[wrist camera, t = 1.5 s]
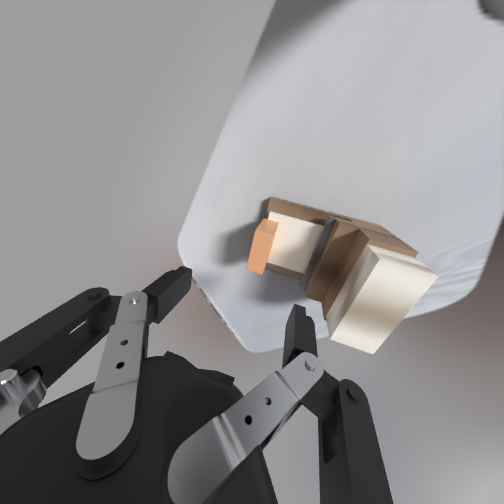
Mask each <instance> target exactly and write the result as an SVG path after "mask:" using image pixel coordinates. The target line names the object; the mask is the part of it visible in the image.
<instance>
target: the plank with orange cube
mask: <svg viewBox="0 0 504 504" xmlns="http://www.w3.org/2000/svg"><path fill="white" fill-rule="evenodd" d="M323 227H324V226H323V225H319V224H315V223H312V222H308V221H305V220H301V219H297V218H294V217H290V216H287V215H283V214H279V213H276V212H272V211H270V213H269V217H268V219H265V218H264V219H263V220H262V222H261V223H260V224H259V226H258V227H257V228H256V230H255V234H254V238H253V242H252V246H251V251H250V255H249V259H248V263H247V267H246V270H249V271H253V272H256V273H259V274H262V275H263V272H264V269H265V266H266V264H267V262H268V263H271V264H274V265H277V266H281V267H284V268H287V269H290V270H293V271H297V272H300V273H303V274H304V272H305V270H306V268H307V265H308V263H309V260H310V258H311V256H312V253H313V251H314V248H315V246H316V244H317V241H318V239H319V237H320V234H321V232H322V229H323Z"/></svg>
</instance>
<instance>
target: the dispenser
mask: <svg viewBox="0 0 504 504" xmlns="http://www.w3.org/2000/svg"><path fill="white" fill-rule="evenodd" d="M270 211H272V212H276V213H279V214H283V215H287V216H290V217H294V218H297V219H301V220H305V221H308V222H312V223H315V224H319V225H323V226H324V227H323V229H322V232H321V234H320V237H319V239H318V241H317V244H316V246H315V248H314V251H313V253H312V256H311V258H310V260H309V263H308V265H307V268H306V270H305V272H304V274H303V273H300V272H297V271H293V270H290V269H287V268H284V267H281V266H277V265H274V264H271V263H268V262H267V264H266V266H265V268H266V269H269V270H273V271H276V272H279V273H282V274H285V275H288V276H291V277H295V278H298V279H301V282H300V288H303V289H305V290H306V297H307V298H310V299H313V300H316V301H319V302H321V303H322V309H323V315H324V320H326V321H327V326H328V331H329V337H330V339H331V340H334V341H337V342H339V343H342V344H345V345H348V346H351V347H353V348H357V349H359V350H362V351H365V352H368V353H371V354H374V353H375V351H376V350H377V349H378V348H379V347H380V345H381V344H382V343H383V342H384V341H385V339H386V338H387V337H388V336H389V335H390V333H391V332H392V331H393V330H394V329H395V327H396V326H397V325H398V324H399V323H400V322H401V320H402V319H403V318H404V317H405V316H406V314H407V313H408V312H409V311H410V310H411V308H412V307H413V306H414V305H415V304H416V302H417V301H418V300H419V299H420V298H421V296H422V295H423V294H424V293H425V292H426V291H427V289H428V288H429V287H430V286H431V285H432V283H433V282H434V281H435V280H436V279H437V277H438V275H437V274H435V273H434V272H433V271H432V270H430V269H429V268H428V267H426V266H425V265H424V264H423V263H421V262H420V261H419V260H417V259H416V258H415V257H416V255H417V254H418V253H419V252H417V251H416V250H414V249H413V248H412V247H410V246H409V245H407V244H406V243H404V242H403V241H402V240H400V239H399V238H397V237H396V236H395V235H393V234H392V233H390V232H389V231H387V230H386V229H385V228H383V227H382V226H379V225H375V224H372V223H368V222H364V221H360V220H357V219H353V218H349V217H345V216H342V215H338V214H334V213H331V212H327V211H323V210H319V209H316V208H312V207H308V206H304V205H301V204H297V203H293V202H289V201H286V200H282V199H278V198H274V197H270V200H269V204H268V208H267V212H266V215H265V219H268V217H269V213H270Z"/></svg>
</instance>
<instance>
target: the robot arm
mask: <svg viewBox="0 0 504 504" xmlns="http://www.w3.org/2000/svg"><path fill="white" fill-rule="evenodd" d="M191 279H192V269H190V268H187V267H184V266H181V267H179V268H178V269H177V270H176V271H175V270H171V271H169V272H166V273H165V274H163V275H162V276H161V277H160V278H158V279H157V280H155V281H154V282H153V283H152V284H150V285H149V286H148V287H146V288H145V289H144V290H142V291H141V292H140V291H135V292H130V293H128V294H126V295H124V296H111V295H109V291H108V290H107V289H106V288H101V287H99V288H91V289H88V290H86V291H84V292H82V293H81V294H79V295H77V296H76V297H74V298H72V299H71V300H69V301H68V302H66V303H64V304H63V305H61V306H59V307H58V308H56V309H54V310H52V311H51V312H49V313H47V314H46V315H44V316H42V317H41V318H39V319H38V320H36V321H35V322H33V323H31V324H29V325H28V326H26V327H24V328H23V329H21V330H19V331H18V332H16V333H14V334H13V335H11V336H9V337H8V338H6V339H4V340H3V341H1V342H0V504H278V501H277V498H276V495H275V492H274V488H273V485H272V482H271V478H270V475H269V472H268V468H267V465H266V462H265V459H264V455H263V452H262V451H263V450H264V449H265V448H266V447H267V446H268V445H269V443H270V442H271V441H272V440H273V439H274V437H275V436H276V435H277V434H278V432H279V431H280V430H281V428H282V427H283V426H284V425H285V424H286V422H287V421H288V420H289V419H290V418H291V417H292V416H293V415H294V413H295V412H296V411H297V410H298V409H299V408H300V407H301V405H304V406H305V407H306V408H307V409H309V410H310V411H311V412H312V413H313V414H314V415H316V416H317V417H318V434H319V435H318V436H319V477H320V504H393V500H392V496H391V492H390V488H389V484H388V480H387V476H386V472H385V467H384V463H383V460H382V456H381V452H380V448H379V443H378V439H377V435H376V431H375V427H374V423H373V419H372V415H371V411H370V407H369V403H368V399H367V397H366V395H365V393H364V392H363V390H362V389H361V388H360V387H359V386H358V385H357V384H356V383H354V382H353V381H351V380H348V379H343V380H341V381H340V382H339V381H338V380H337V379H335V378H334V377H332V376H331V375H329V374H328V373H327V372H326V371H325V370H324V369H323V365H322V363H321V362H320V360H319V359H318V355H317V345H316V337H315V336H316V335H315V324H314V322H313V320H312V318H311V317H309V316H306V309H305V307H303V306H300V305H297V304H294V306H293V308H292V311H291V313H290V315H289V318H288V320H287V324H286V331H285V342H284V354H283V364H282V370H281V371H279V372H277V371H275V372H273V373H272V374H271V375H269V376H268V377H267V378H266V379H265V380H263V381H262V382H261V383H260V384H259V385H257V386H256V387H255V388H253V389H252V390H251V391H250V392H249V393H247V394H246V395H245V396H243V394H242V393H241V391H240V390H239V389H238V388H237V387H236V386H235V385H234V384H233V382H234V377H231V376H229V375H226V374H224V373H221V372H218V371H213V370H204V369H197V368H196V367H195V366H194V365H192V364H191V363H190V362H189V361H187V360H186V359H185V358H184V357H181V356H179V355H177V354H174V353H172V352H169V351H167V352H166V353H165V355H164V356H154V357H149V358H147V352H148V337H149V325H150V324H151V323H152V322H155V323H157V324H159V323H160V322H161V321H162V320H163V319H164V318H165V316H166V315H167V314H168V313H169V312H170V311H171V310H172V309H173V308H174V307H175V306H176V305H177V304H178V302H179V301H180V300H181V299H182V298H183V297H184V296H185V295H186V294H187V293H188V291H189V290H190V287H191ZM84 321H85V323H84V324H83V325H81V326H80V327H79V328H77V329H76V330H75V331H73V332H72V333H71V334H70V332H71V331H72V330H73V329H74V328H76V327H77V326H78V325H80V324H81V323H83V322H84ZM108 333H109V334H108ZM69 334H70V335H69ZM106 334H108V337H107V341H106V345H105V349H104V352H103V356H102V359H101V363H100V367H99V370H98V374H97V378H96V381H95V382H93V383H91V384H89V385H86V386H84V387H82V388H80V389H78V390H76V391H74V392H72V393H69V394H67V395H65V396H63V397H61V398H59V399H57V400H54V401H52V402H50V403H48V404H46V405H44V406H42V407H39V408H38V405H39V404H40V403H41V402H42V400H43V399H44V397H45V395H46V392H47V389H48V388H49V387H50V386H51V385H52V384H53V383H54V382H55V381H56V380H57V379H58V378H59V377H61V376H62V375H63V374H64V373H65V372H66V371H67V370H68V369H69V368H70V367H72V366H73V364H75V363H76V362H77V361H78V360H79V359H80V358H81V357H82V356H84V355H85V354H86V353H87V352H88V351H89V350H90V349H91V348H92V347H93V346H94V345H96V344H97V343H98V342H99V341H100V340H101V339H102V338H103V337H104V336H105V335H106Z"/></svg>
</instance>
